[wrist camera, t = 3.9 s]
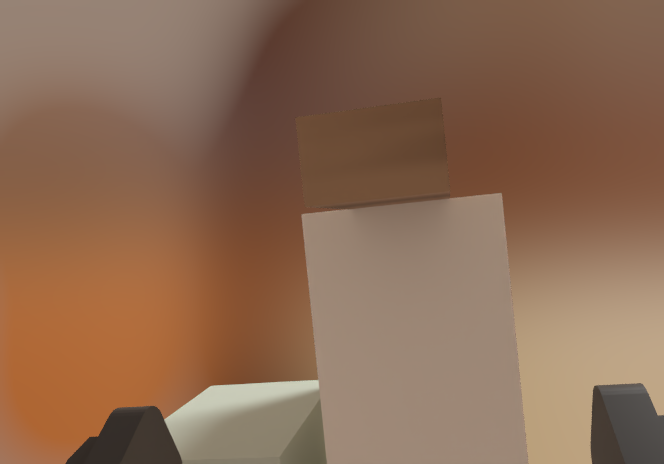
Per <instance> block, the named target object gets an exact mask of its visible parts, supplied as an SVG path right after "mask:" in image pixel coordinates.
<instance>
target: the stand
mask: <svg viewBox="0 0 664 464" xmlns="http://www.w3.org/2000/svg"><path fill="white" fill-rule="evenodd" d="M302 224H303V233H304V244H305V254H306V262H307V273H308V283H309V292H310V303H311V311H312V321H313V331H314V342H315V352H316V360H317V371H318V380H310V381H293V382H273V383H255V384H237V385H219V386H210V387H209V388H208V389H206V390H205V391H203V392H202V393H201V394H199V395H198V396H197V397H195V398H194V399H192V400H191V401H190V402H188V403H187V404H185V405H184V406H183V407H181V408H180V409H179V410H177V411H176V412H175V413H173V414H172V415H170V416H169V417H168V418H166V419H165V420H164V421H165V423H166V425H167V427H168V429H169V432H170V434H171V436H172V438H173V440H174V443H175V445H176V447H177V449H178V451H179V454H180V456H181V459H182V464H528V454H527V444H526V434H525V424H524V416H523V415H524V414H523V404H522V394H521V383H520V374H519V363H518V353H517V343H516V333H515V323H514V313H513V303H512V292H511V282H510V272H509V263H508V252H507V242H506V232H505V223H504V213H503V202H502V193H498V194H488V195H479V196H470V197H460V198H451V199H441V200H432V201H422V202H413V203H403V204H394V205H384V206H375V207H366V208H356V209H347V210H337V211H328V212H318V213H310V214H302Z"/></svg>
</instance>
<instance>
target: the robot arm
mask: <svg viewBox="0 0 664 464" xmlns="http://www.w3.org/2000/svg"><path fill="white" fill-rule="evenodd" d="M591 457H592V464H664V416H663V415H662V416H658V415H657V413H656V411H655V408H654V406H653V404H652V401H651V399H650V397H649V394H648V393H647V391H646V389H645V387H644V386H643V384H641V383H638V384H619V385H599V386H594V389H593V403H592V425H591ZM66 464H182V459H181V456H180V454H179V451H178V449H177V447H176V445H175V443H174V440H173V438H172V436H171V434H170V432H169V429H168V427H167V425H166V423H165V421H164V419H163V416H162V414H161V412H160V410H159V409H158V408H157V407H155V406H144V407H124V408H117V409H115V410H114V411H113V412H112V413H111V414H110V416H109V418H108V419H107V421H106V423H105V425H104V427H103V429H102V431H101V433H100V434H99V436H98V437H89V438H88V439H87V441H86V442H85V443H84V444H83V445H82V446H81V447H80V448H79V449H78V450H77V451H76V452H75V453H74V454H73V455H72V456H71V457H70V458H69V459H68V460H67V462H66Z"/></svg>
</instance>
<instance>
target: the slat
mask: <svg viewBox="0 0 664 464" xmlns="http://www.w3.org/2000/svg"><path fill="white" fill-rule="evenodd" d="M296 126H297V136H298V145H299V156H300V164H301V175H302V185H303V194H304V205H305V207H316V208H336V209H356V208H366V207H375V206H384V205H394V204H403V203H413V202H422V201H432V200H441V199H449V197H450V185H449V175H448V164H447V154H446V144H445V134H444V125H443V114H442V104H441V98H435V99H428V100H420V101H413V102H406V103H398V104H391V105H384V106H376V107H370V108H362V109H354V110H347V111H340V112H333V113H325V114H318V115H310V116H303V117H296Z"/></svg>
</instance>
